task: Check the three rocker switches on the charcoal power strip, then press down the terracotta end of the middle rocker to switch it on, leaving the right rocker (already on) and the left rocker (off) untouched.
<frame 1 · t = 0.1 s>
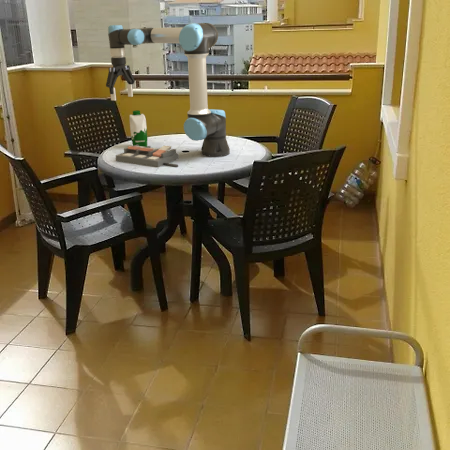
hand: (122, 98, 283), 28 cm above the table, tool pointing down, fingers open, 13 cm apart
middle rocker: (149, 149, 272), point 5 cm above the table, hinge at -12.0°
rocker 1: (137, 147, 276), point 5 cm above the table, hinge at -12.0°
power strip: (147, 160, 272), on the table
milk carton: (140, 147, 298), on the table
rocker 2: (162, 151, 268), point 5 cm above the table, hinge at 12.0°
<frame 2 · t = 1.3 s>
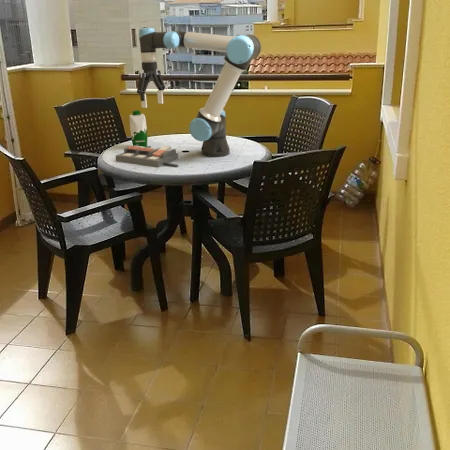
hand: (152, 105, 268), 26 cm above the table, tool pointing down, fingers open, 12 cm apart
nothing on the table moved.
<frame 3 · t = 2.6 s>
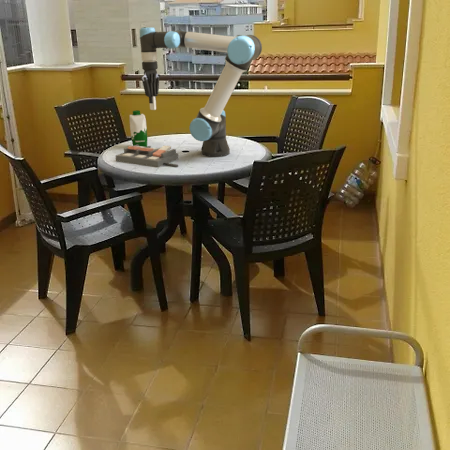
hand: (153, 109, 269), 24 cm above the table, tool pointing down, fingers closed
nothing on the table moved.
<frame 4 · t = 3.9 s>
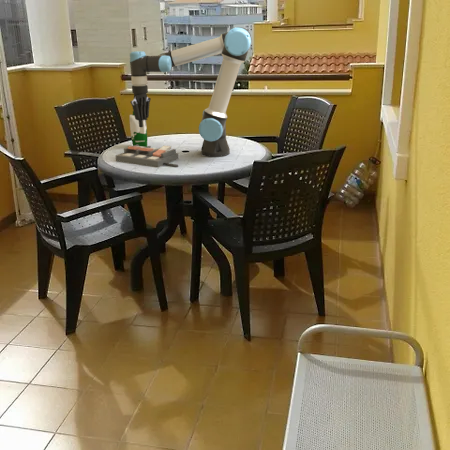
hand: (143, 133, 266), 14 cm above the table, tool pointing down, fingers closed
nothing on the table moved.
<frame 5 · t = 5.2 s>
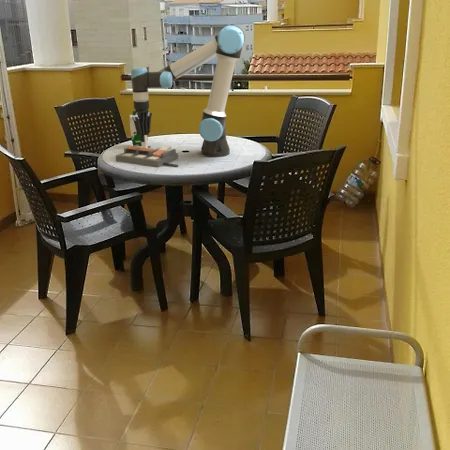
hand: (144, 147, 268), 7 cm above the table, tool pointing down, fingers closed
middle rocker: (149, 149, 272), point 5 cm above the table, hinge at -12.0°, touching gripper
everything else where it was.
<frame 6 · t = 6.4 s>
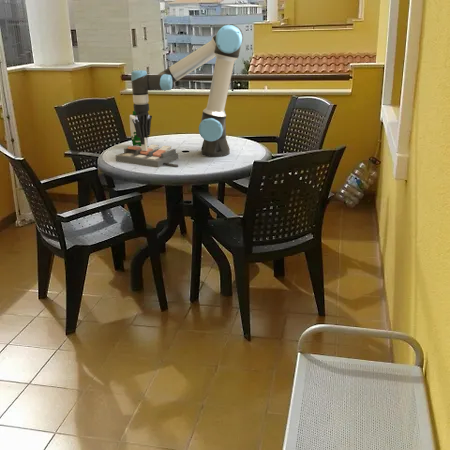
hand: (144, 150, 269), 5 cm above the table, tool pointing down, fingers closed
middle rocker: (149, 149, 272), point 5 cm above the table, hinge at 9.1°, touching gripper
everything else where it was.
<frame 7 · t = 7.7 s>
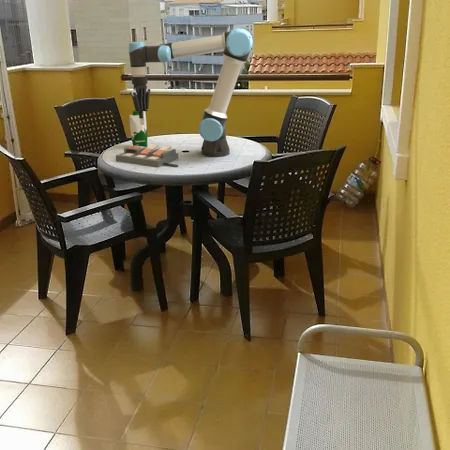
hand: (143, 124, 264), 18 cm above the table, tool pointing down, fingers closed
middle rocker: (149, 149, 272), point 5 cm above the table, hinge at 14.9°
everything else where it was.
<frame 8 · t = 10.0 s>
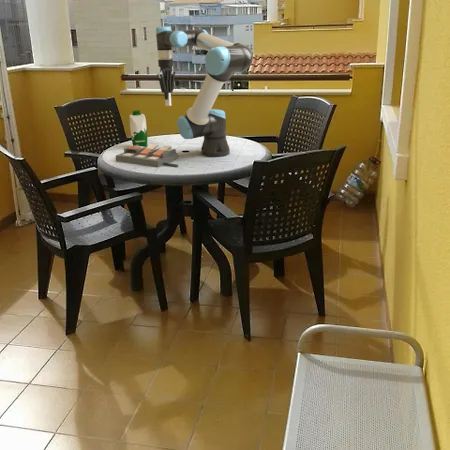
hand: (168, 105, 279), 24 cm above the table, tool pointing down, fingers closed
middle rocker: (149, 149, 272), point 5 cm above the table, hinge at 16.0°
everything else where it was.
at the end: middle rocker at +16° (first picture: -12°); rocker 2 at +12° (first picture: +12°); rocker 1 at -12° (first picture: -12°) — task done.
